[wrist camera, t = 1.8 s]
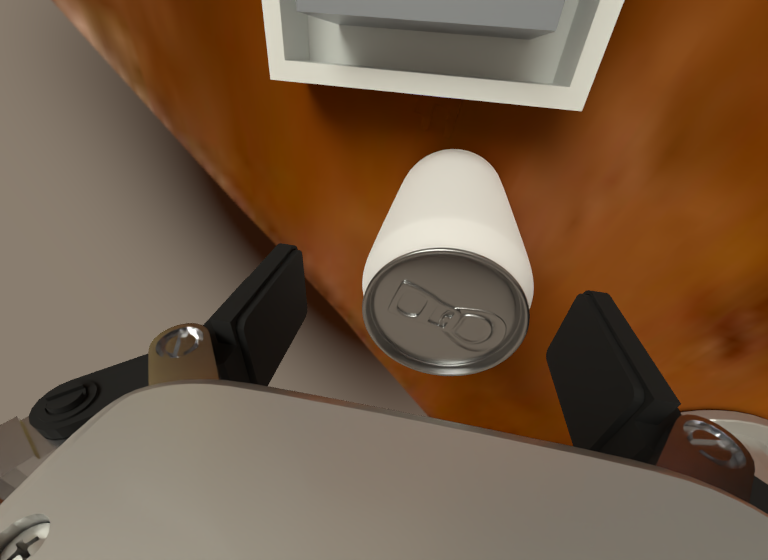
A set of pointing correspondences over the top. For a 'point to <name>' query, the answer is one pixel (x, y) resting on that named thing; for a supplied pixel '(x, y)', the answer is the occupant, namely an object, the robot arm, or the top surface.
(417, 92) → the inlet box
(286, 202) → the top surface
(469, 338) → the can
